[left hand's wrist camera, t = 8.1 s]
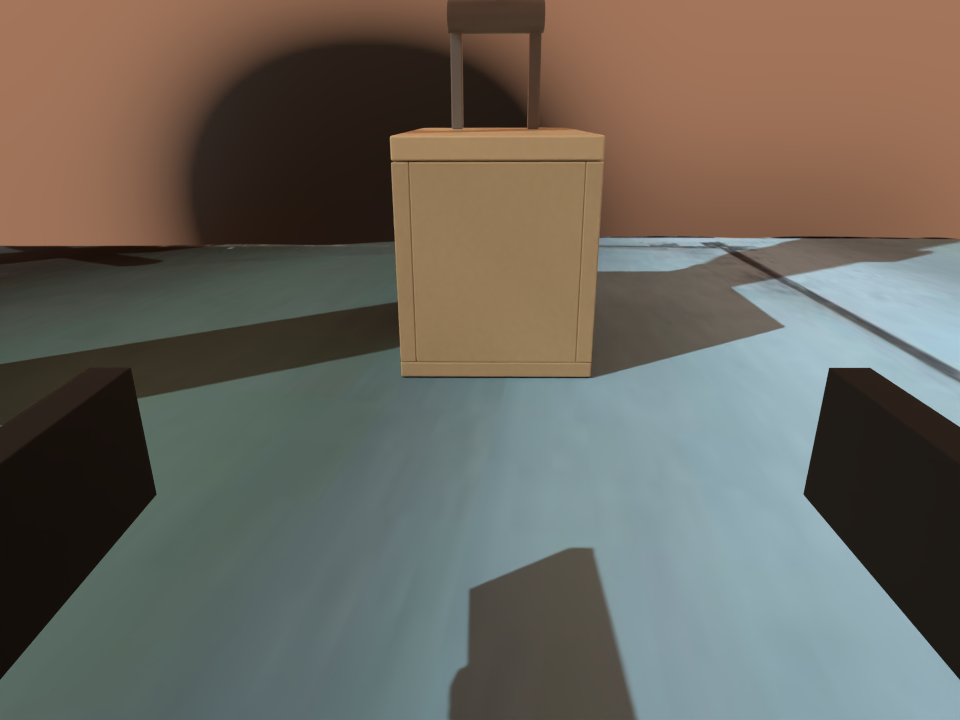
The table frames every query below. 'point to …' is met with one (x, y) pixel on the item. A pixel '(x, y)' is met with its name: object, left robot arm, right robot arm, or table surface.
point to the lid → (496, 9)
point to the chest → (496, 266)
